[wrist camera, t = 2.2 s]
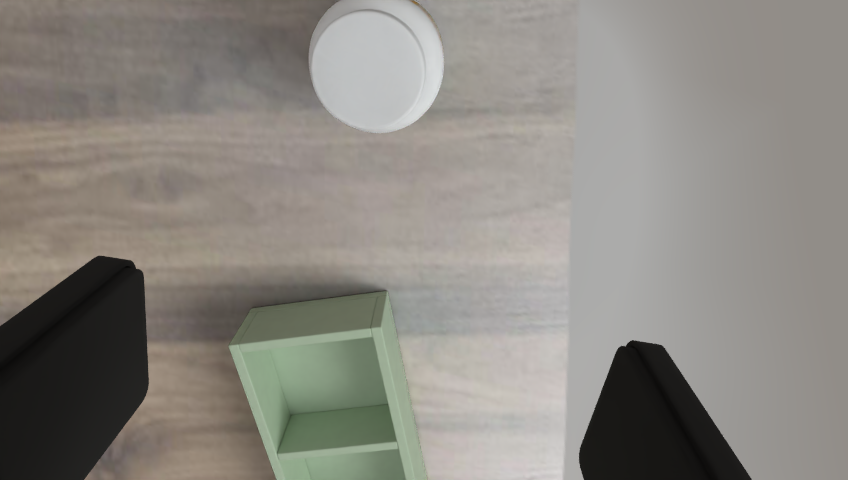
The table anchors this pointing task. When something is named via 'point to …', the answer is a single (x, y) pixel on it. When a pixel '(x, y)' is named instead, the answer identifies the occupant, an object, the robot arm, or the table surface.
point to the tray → (329, 389)
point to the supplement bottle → (376, 63)
